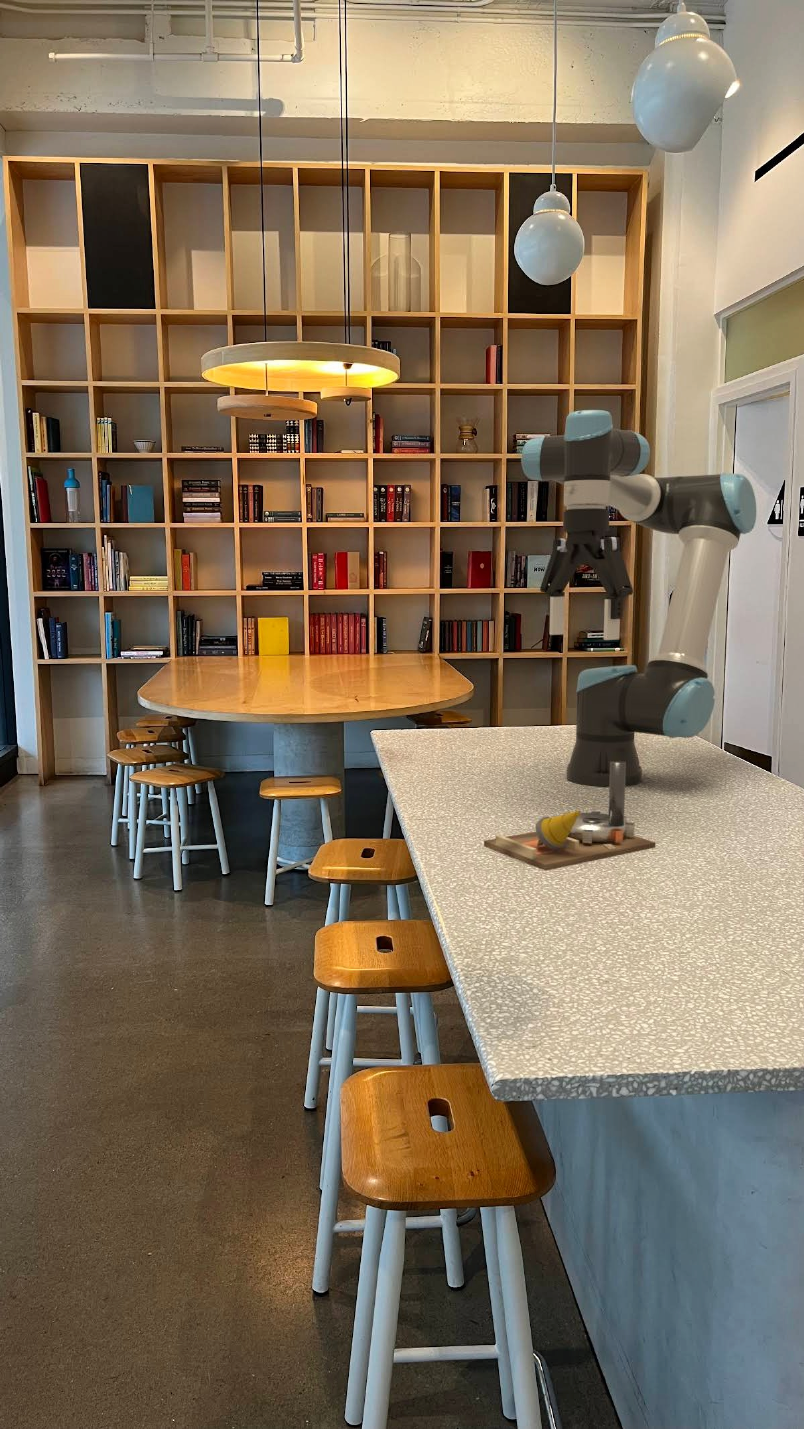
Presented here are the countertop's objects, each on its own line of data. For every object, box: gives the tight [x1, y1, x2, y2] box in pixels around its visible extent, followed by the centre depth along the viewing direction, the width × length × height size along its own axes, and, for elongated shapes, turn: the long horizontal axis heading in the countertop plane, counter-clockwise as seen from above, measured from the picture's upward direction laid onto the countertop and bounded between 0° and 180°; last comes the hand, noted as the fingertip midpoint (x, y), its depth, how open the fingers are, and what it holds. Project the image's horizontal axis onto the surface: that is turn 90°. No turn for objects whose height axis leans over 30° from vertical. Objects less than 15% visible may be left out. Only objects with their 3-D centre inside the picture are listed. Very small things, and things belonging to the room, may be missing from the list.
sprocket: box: [550, 761, 635, 843], centre depth 162 cm, size 13×13×12 cm
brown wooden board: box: [483, 831, 656, 871], centre depth 159 cm, size 15×22×2 cm
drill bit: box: [535, 810, 582, 851], centre depth 153 cm, size 5×5×10 cm
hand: (583, 637), depth 171 cm, fingers open, 13 cm apart
